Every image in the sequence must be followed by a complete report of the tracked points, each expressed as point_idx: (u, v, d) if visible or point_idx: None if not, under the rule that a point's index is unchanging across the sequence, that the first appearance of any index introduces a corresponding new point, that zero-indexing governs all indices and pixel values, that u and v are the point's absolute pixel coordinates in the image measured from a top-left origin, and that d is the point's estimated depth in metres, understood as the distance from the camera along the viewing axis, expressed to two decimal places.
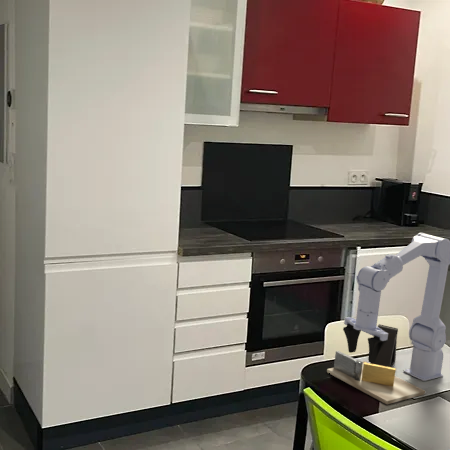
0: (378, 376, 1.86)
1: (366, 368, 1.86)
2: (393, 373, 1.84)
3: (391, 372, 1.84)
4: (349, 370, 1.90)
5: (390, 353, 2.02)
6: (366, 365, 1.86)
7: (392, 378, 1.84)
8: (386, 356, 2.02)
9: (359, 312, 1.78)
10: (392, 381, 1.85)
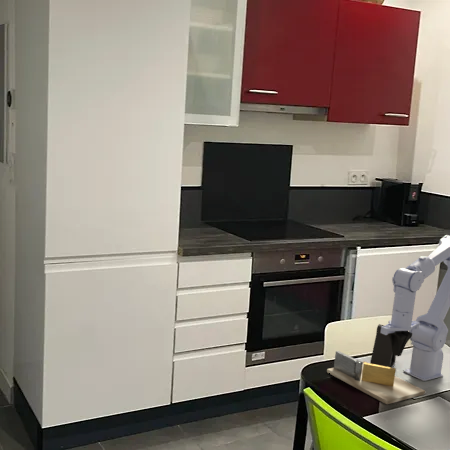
0: (378, 376, 1.86)
1: (366, 368, 1.86)
2: (393, 373, 1.84)
3: (391, 372, 1.84)
4: (349, 370, 1.90)
5: (390, 353, 2.02)
6: (366, 365, 1.86)
7: (392, 378, 1.84)
8: (386, 356, 2.02)
9: None
10: (392, 381, 1.85)
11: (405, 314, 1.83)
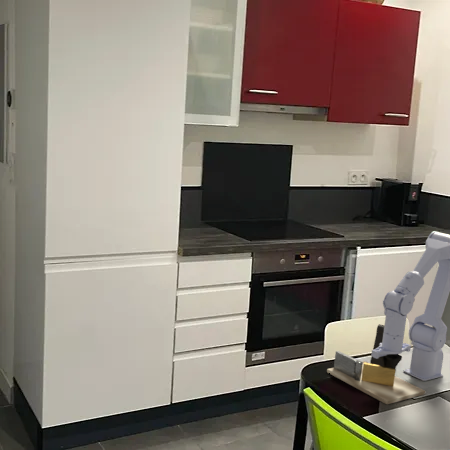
0: (378, 376, 1.86)
1: (366, 368, 1.86)
2: (393, 373, 1.84)
3: (391, 372, 1.84)
4: (349, 370, 1.90)
5: None
6: (365, 365, 1.86)
7: (392, 378, 1.84)
8: None
9: None
10: (392, 381, 1.85)
11: (396, 337, 1.83)
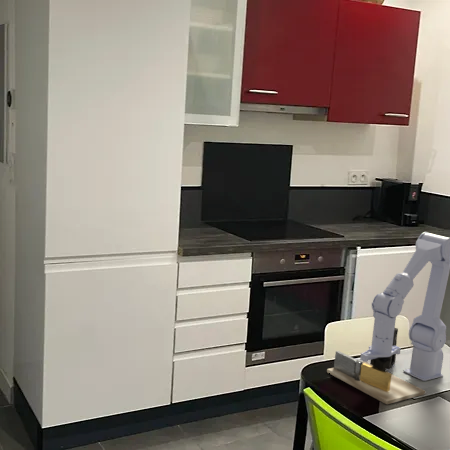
0: (374, 379, 1.83)
1: (364, 369, 1.86)
2: (387, 378, 1.80)
3: (385, 377, 1.81)
4: (349, 370, 1.90)
5: None
6: (363, 366, 1.86)
7: (386, 383, 1.81)
8: None
9: None
10: (386, 386, 1.81)
11: (385, 340, 1.80)
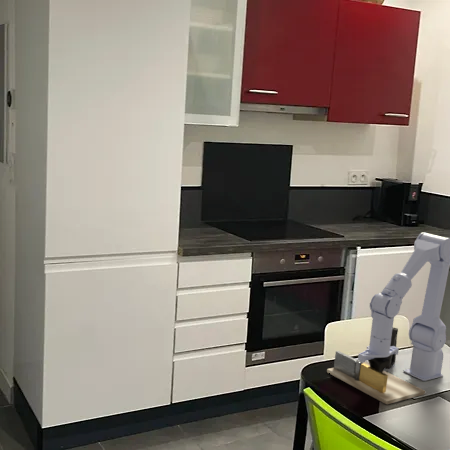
0: (371, 379, 1.83)
1: (363, 369, 1.85)
2: (383, 379, 1.79)
3: (381, 378, 1.80)
4: (349, 370, 1.90)
5: None
6: (362, 366, 1.85)
7: (382, 384, 1.80)
8: None
9: None
10: (382, 387, 1.80)
11: (383, 340, 1.80)
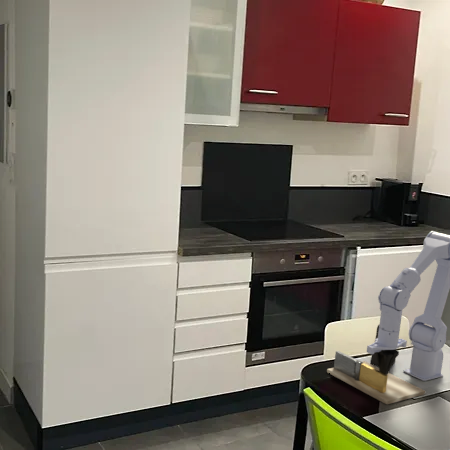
0: (371, 379, 1.83)
1: (363, 369, 1.85)
2: (383, 379, 1.79)
3: (381, 378, 1.80)
4: (349, 370, 1.90)
5: None
6: (362, 366, 1.85)
7: (382, 384, 1.80)
8: None
9: None
10: (382, 387, 1.80)
11: (391, 333, 1.81)
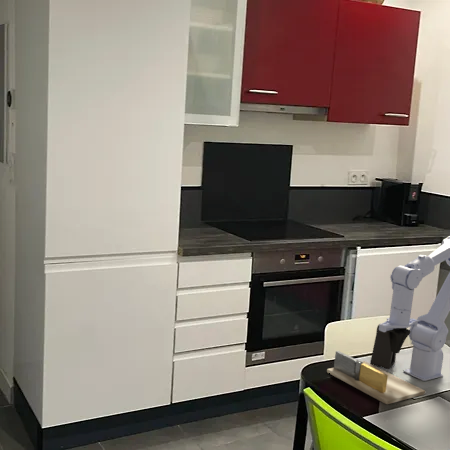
0: (371, 379, 1.83)
1: (363, 369, 1.85)
2: (383, 379, 1.79)
3: (381, 378, 1.80)
4: (349, 370, 1.90)
5: (390, 353, 2.02)
6: (362, 366, 1.85)
7: (382, 384, 1.80)
8: (386, 356, 2.02)
9: None
10: (382, 387, 1.80)
11: (403, 311, 1.84)
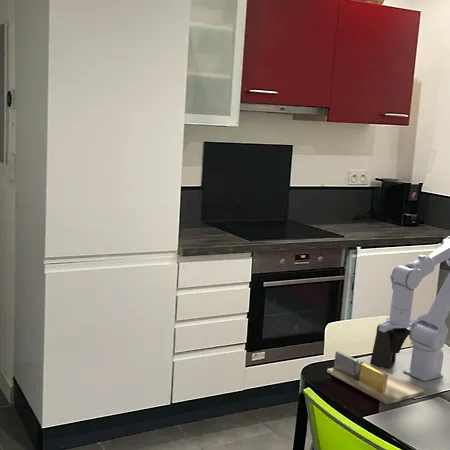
0: (371, 379, 1.83)
1: (363, 369, 1.85)
2: (383, 379, 1.79)
3: (381, 378, 1.80)
4: (349, 370, 1.90)
5: (390, 353, 2.02)
6: (362, 366, 1.85)
7: (382, 384, 1.80)
8: (386, 356, 2.02)
9: None
10: (382, 387, 1.80)
11: (403, 311, 1.84)
